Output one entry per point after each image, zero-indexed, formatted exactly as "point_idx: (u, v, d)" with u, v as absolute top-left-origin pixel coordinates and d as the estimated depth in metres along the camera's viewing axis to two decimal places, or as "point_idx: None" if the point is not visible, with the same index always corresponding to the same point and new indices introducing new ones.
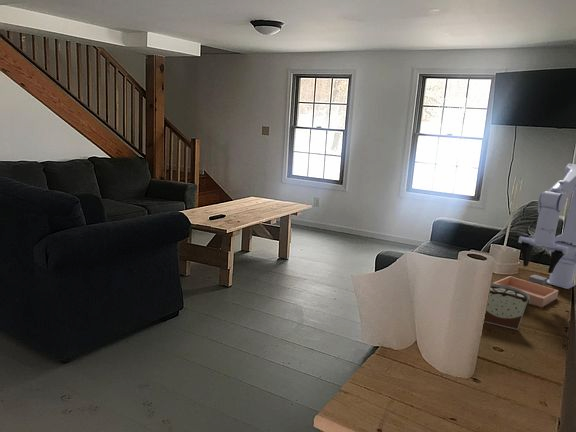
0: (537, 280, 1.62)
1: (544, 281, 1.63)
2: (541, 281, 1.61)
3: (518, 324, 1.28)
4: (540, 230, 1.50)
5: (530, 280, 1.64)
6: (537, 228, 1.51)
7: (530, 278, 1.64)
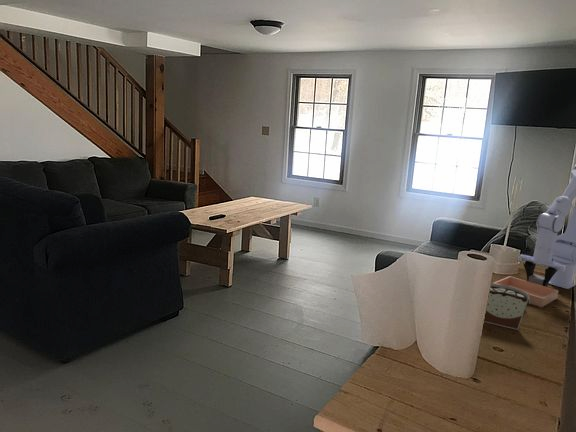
0: (537, 280, 1.62)
1: None
2: (541, 281, 1.61)
3: (518, 324, 1.28)
4: (539, 249, 1.61)
5: (530, 280, 1.64)
6: (536, 247, 1.62)
7: (530, 278, 1.64)
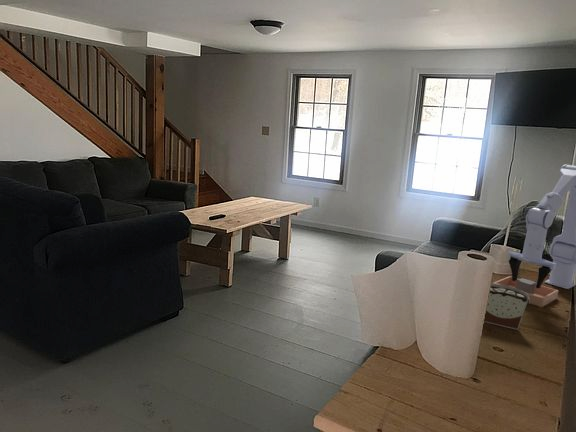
0: (525, 284, 1.55)
1: (532, 285, 1.55)
2: (529, 285, 1.54)
3: (518, 324, 1.28)
4: (528, 246, 1.53)
5: (518, 284, 1.57)
6: (525, 244, 1.54)
7: (518, 282, 1.57)
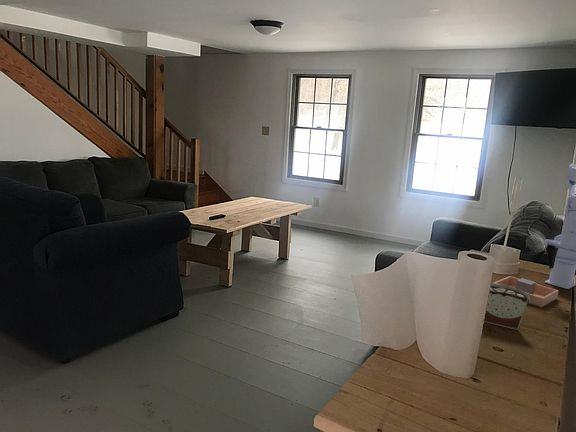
0: (525, 284, 1.55)
1: (532, 285, 1.55)
2: (529, 285, 1.54)
3: (518, 324, 1.28)
4: (567, 233, 1.51)
5: (518, 284, 1.57)
6: (563, 231, 1.53)
7: (518, 282, 1.57)
